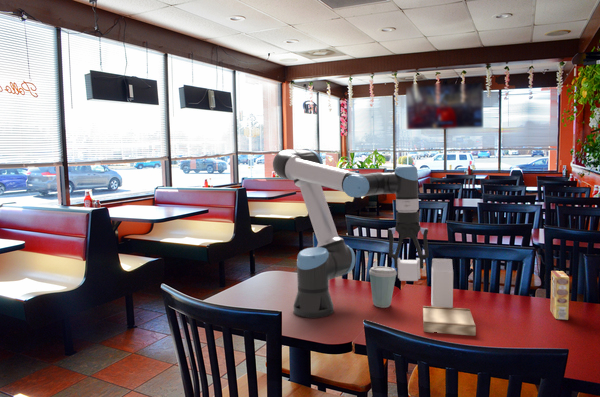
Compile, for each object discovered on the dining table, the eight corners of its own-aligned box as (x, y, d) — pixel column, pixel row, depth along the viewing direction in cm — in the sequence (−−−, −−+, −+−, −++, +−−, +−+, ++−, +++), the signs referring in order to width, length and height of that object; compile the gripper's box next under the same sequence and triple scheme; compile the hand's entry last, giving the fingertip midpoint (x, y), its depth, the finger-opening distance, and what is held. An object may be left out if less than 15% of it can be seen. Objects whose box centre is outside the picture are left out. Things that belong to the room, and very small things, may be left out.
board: (423, 331, 148) (423, 321, 147) (422, 314, 163) (423, 305, 163) (475, 335, 144) (475, 325, 143) (469, 318, 159) (469, 308, 159)
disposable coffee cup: (369, 300, 181) (369, 263, 179) (396, 301, 179) (396, 264, 177) (368, 308, 170) (368, 270, 169) (396, 310, 168) (397, 271, 167)
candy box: (568, 320, 155) (570, 277, 154) (555, 319, 157) (556, 276, 155) (562, 312, 164) (563, 270, 162) (549, 311, 165) (550, 270, 164)
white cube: (399, 280, 153) (399, 263, 153) (400, 276, 159) (400, 259, 158) (417, 281, 151) (417, 263, 151) (418, 276, 157) (417, 259, 157)
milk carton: (452, 311, 166) (453, 261, 164) (432, 310, 167) (433, 260, 166) (450, 305, 173) (450, 257, 171) (431, 304, 174) (431, 256, 172)
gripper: (378, 212, 153) (380, 279, 154) (436, 211, 147) (438, 281, 149) (380, 210, 160) (382, 274, 161) (436, 209, 155) (437, 275, 156)
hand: (409, 277), depth 155 cm, fingers closed on white cube, 6 cm apart
